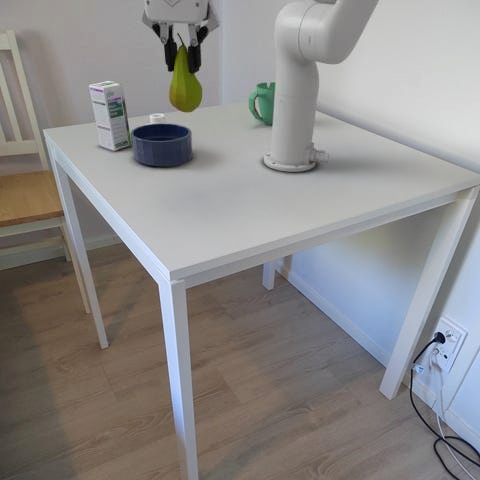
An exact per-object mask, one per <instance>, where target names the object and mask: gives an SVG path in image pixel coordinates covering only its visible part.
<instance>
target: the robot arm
mask: <svg viewBox="0 0 480 480" xmlns="http://www.w3.org/2000/svg"><path fill="white" fill-rule="evenodd" d="M143 1H144V11H143V14H142V17H141V22H142V24H144V25H145V26H147V27H148V28H149V29H151V30H152V31H153V33H155V35H156V36H157V37H158V38H159V40H160V43H161V44H162V45H163V50H164V61H165V65H166V67H167V72H169V73H172V72H174V64H175V58H176V55H177V52H178V44H177V41H175V36H174V35H175V24H187V28H188V35H189V45H188V47H187V51H188V61H189V72H190V73H191V74H196V73H197V72H199V71H200V68H201V67H202V46H201V45H202V44H203V43H204V40H205V39H207V37H208V35H209V34H210V33H211V32H213V31H215V30H216V29H218V28H220V26H221V20H220V17H219V16H218V13H217V11H216V9H215V7H214V4H213V0H143ZM379 1H380V0H312V1H305V0H299V1H292V2H289V3H288V4H286V5H285V6H283V8H281V10H280V11H279V13H278V14H277V16H276V19H275V22H274V25H273V26H274V27H273V42H274V53H275V82H276V84H275V97H274V112H273V125H271V126H272V128H271V143H270V151H268V152H267V153H266V154H264V156H263V163H264V164H265V165H266V166H267V167H268V168H270V169H273V170H275V171H280V172H288V173H299V172H305V171H309V170H312V169H313V168H314V167H315V166H316V162H317V161H319V162H323V163H328V161H329V157H330V153H329V152H326V150H323V149H316V148H315V142H313V136H314V128H315V121H316V112H317V103H318V97H319V89H320V74H319V70H318V66H317V63H321V64H327V65H338V64H341V63H343V62H344V61H346V60H347V59H348V58H349V56H350V55H351V54H352V53H353V51H354V49H355V47H356V46H357V44H358V42H359V40H360V38H361V36H362V34H363V32H364V31H365V28H366V27H367V24H368V23H369V21H370V19H371V17H372V15H373V13H374V11H375V9H376V7H377V5H378V3H379ZM206 21H207V23H205V24H204V25H203V26H202V22H206Z"/></svg>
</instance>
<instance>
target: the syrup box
mask: <svg viewBox="0 0 480 480" xmlns="http://www.w3.org/2000/svg"><path fill="white" fill-rule="evenodd" d="M123 85H124V84H122V83H120V82H117V81H112V80H106V81H102V82H97V83H91V84H89V85H88V88H89V93H90V100H91V104H92V108H93V109H92V110H93V114H94V118H95V119H94V120H95V123H96V129H97V132H98V133H97V134H98V138H99V145H100V146H101V147H102V148H105V149H106V150H107V149H108V150H110V151H114V152H116V151H118V150H121V149H125V148H127V147H132V142H131V135H130V133H131V131H130V124H129V119H128V111H127V105H126V104H127V103H126V98H125V92H124V91H125V90H124V86H123Z"/></svg>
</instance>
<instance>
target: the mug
mask: <svg viewBox="0 0 480 480" xmlns="http://www.w3.org/2000/svg"><path fill="white" fill-rule="evenodd" d="M275 84H276V81H274V82H273V81H271V82H270V83H269V86H268V82H266V81H265V82H260V83H257V84H256V90H255V91H253V92H251V93H250V95H249V97H248V109H249V111H250V113H251V114H252V116H253V118H254V119H255V120H257V121H260V122H262V123H263V124H264V125H268V126H273V112H274V97H275ZM256 100H257V103H258V108H259V112H260V114H259V112H258V110H257V108H256Z"/></svg>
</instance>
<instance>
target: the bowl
mask: <svg viewBox="0 0 480 480" xmlns="http://www.w3.org/2000/svg"><path fill="white" fill-rule="evenodd" d="M167 123H168V122H166V123H158V124H150V123H147V124H148V125H146V124H143V125H140V126H137V127H135V128H134V129H132V130H131V131H130V137H131V143H132V145H131V148H132V155H133V159H134V160H135V161H137V162H138V163H141V164H144V165H147V166H153V167H170V166H176V165H179V164H183V163H185V162H188V161H189V160H191V159H192V158H193V138H192V137H193V135H192V130H191V128H189V127H187V126H185V125H181V124H176V123H170V124H167Z"/></svg>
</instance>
